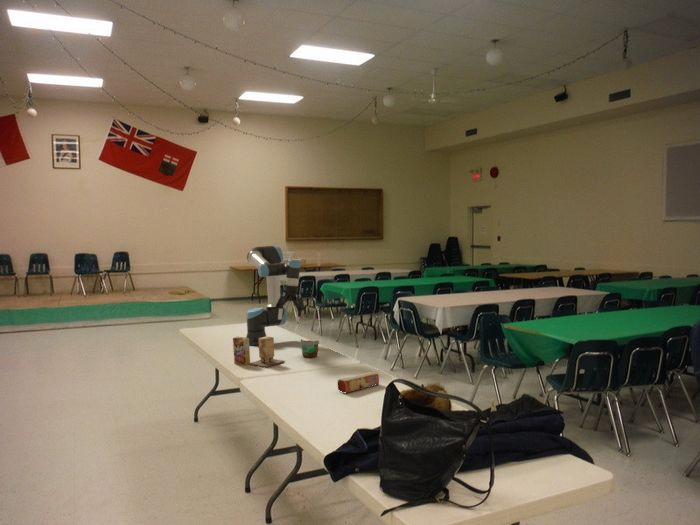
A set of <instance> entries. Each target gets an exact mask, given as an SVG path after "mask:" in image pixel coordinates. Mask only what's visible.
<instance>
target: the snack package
mask: <svg viewBox="0 0 700 525" xmlns="http://www.w3.org/2000/svg"><path fill="white" fill-rule="evenodd" d="M379 376H380V375H379V373H378V372H375V371H369V372H366V373H361V374H356V375H352V376H347V377H343V378H339V379H338V380H337V389H338V391H339V390H340V391H342V392H349V391H353V392H355V391H354V390H357V391H359V390H358V389H360V390H362V389H361V388H364V389H366V388H365V387H368V388H370V387H369V386H372V385H375V384H378V385H379V384H380V377H379ZM372 387H373V386H372ZM340 391H339V392H340ZM349 393H350V392H349Z"/></svg>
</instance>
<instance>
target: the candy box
mask: <svg viewBox="0 0 700 525" xmlns="http://www.w3.org/2000/svg"><path fill="white" fill-rule="evenodd" d="M232 347H233V348H232V349H233V360H234V361H233V363H234V364H235V365H241V364H243V365H244V366H247V364H248V365H250V364H249V363H251V352H250V349H251V348H250V345H249V338H246V337H242V336H234V337H232ZM243 365H242V366H243Z"/></svg>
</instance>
